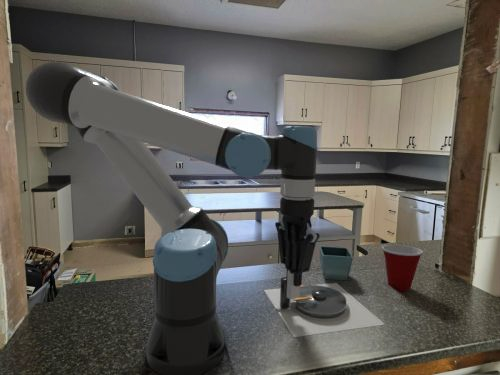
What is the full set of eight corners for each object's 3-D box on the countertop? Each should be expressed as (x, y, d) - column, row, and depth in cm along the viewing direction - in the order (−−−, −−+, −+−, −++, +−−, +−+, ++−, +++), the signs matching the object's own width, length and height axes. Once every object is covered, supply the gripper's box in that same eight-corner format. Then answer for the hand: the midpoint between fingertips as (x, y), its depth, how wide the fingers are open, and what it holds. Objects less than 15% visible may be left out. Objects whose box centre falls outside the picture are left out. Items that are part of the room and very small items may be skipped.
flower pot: (345, 274, 104) (347, 247, 102) (351, 286, 95) (353, 257, 94) (317, 272, 104) (319, 245, 103) (321, 284, 96) (322, 255, 94)
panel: (293, 342, 68) (294, 335, 68) (263, 294, 89) (263, 288, 89) (384, 329, 73) (385, 322, 73) (336, 286, 94) (336, 281, 94)
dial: (329, 290, 89) (331, 264, 88) (356, 315, 76) (358, 284, 75) (271, 296, 85) (272, 268, 84) (289, 323, 72) (291, 291, 71)
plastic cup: (405, 278, 101) (408, 241, 99) (427, 295, 90) (431, 253, 89) (371, 279, 100) (374, 242, 98) (390, 296, 89) (394, 254, 87)
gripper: (331, 200, 68) (325, 305, 72) (292, 191, 79) (288, 282, 83) (303, 203, 65) (298, 314, 68) (266, 193, 76) (264, 289, 79)
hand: (293, 296), depth 75 cm, fingers closed
